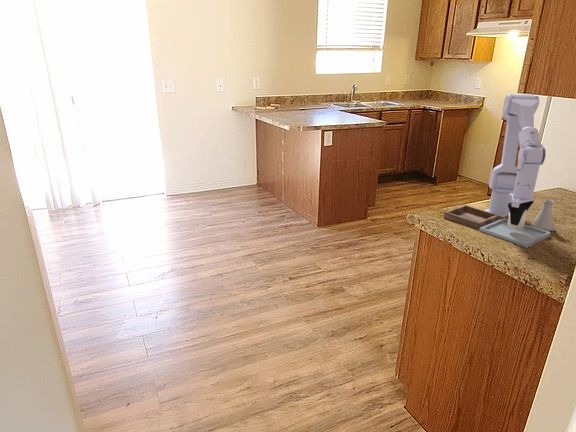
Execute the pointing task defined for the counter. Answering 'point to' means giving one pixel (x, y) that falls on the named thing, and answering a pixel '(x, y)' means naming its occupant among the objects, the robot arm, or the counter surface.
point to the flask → (545, 217)
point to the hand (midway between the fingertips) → (516, 222)
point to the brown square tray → (471, 216)
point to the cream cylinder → (521, 223)
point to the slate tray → (515, 233)
